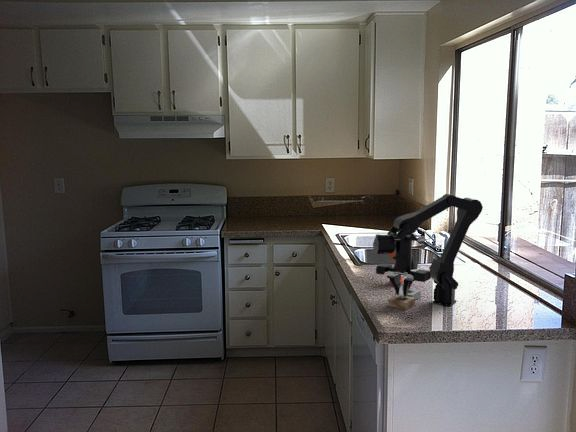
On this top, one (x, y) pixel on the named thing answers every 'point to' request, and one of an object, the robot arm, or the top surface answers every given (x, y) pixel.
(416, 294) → the gray square ring
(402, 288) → the silver metal rod
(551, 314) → the top surface
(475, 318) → the top surface
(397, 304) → the socket block
